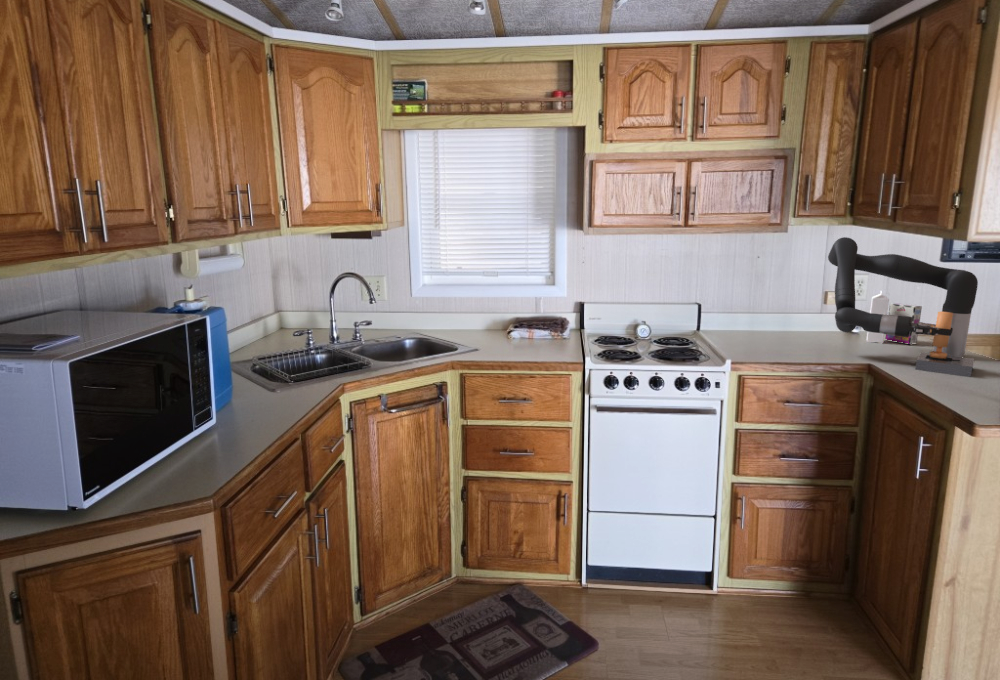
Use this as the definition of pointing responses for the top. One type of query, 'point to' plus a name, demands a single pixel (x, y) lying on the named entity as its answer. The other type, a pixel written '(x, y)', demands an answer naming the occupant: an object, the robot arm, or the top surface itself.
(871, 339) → the milk
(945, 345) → the post
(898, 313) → the candy bar box
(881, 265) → the robot arm
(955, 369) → the keyhole plate
